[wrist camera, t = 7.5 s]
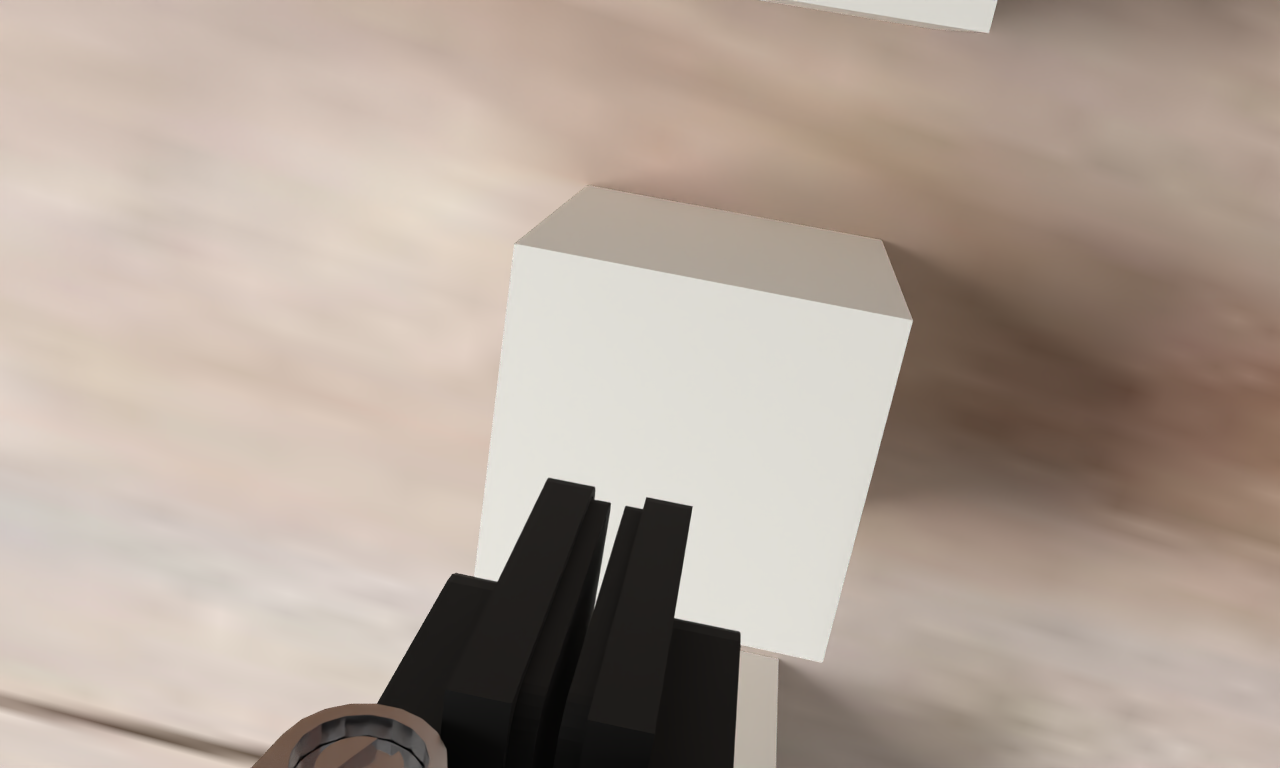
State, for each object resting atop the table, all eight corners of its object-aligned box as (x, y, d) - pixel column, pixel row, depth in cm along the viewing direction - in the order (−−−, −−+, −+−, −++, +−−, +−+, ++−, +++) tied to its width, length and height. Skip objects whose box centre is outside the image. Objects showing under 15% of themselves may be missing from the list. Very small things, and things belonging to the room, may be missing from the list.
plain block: (588, 184, 21) (514, 244, 16) (881, 239, 21) (912, 320, 15) (550, 449, 23) (472, 585, 18) (815, 505, 23) (822, 662, 17)
